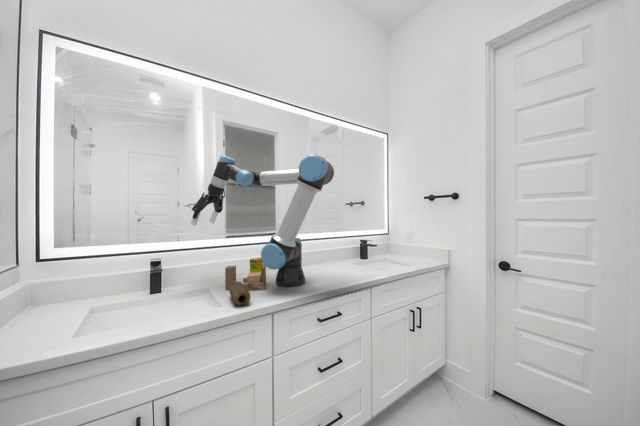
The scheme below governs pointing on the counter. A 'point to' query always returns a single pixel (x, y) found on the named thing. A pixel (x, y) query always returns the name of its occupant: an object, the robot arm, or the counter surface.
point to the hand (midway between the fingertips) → (202, 223)
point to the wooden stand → (257, 285)
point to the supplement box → (256, 265)
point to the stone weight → (239, 293)
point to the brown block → (231, 277)
